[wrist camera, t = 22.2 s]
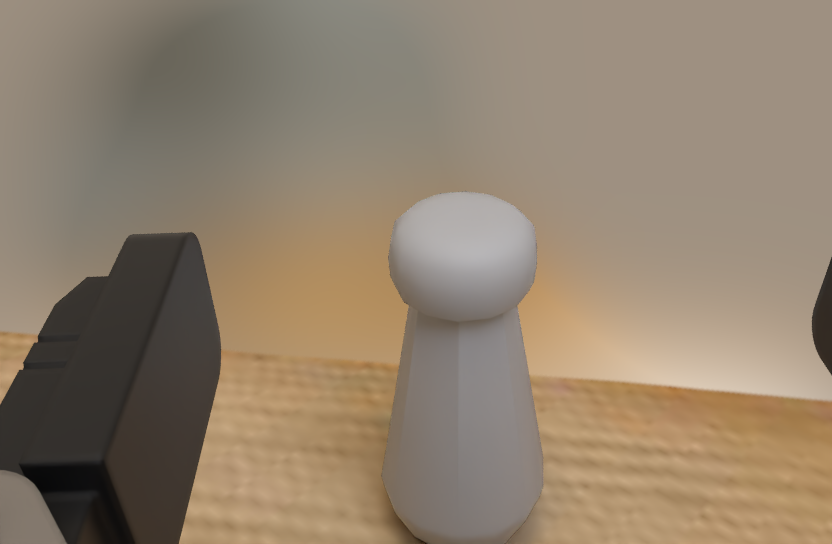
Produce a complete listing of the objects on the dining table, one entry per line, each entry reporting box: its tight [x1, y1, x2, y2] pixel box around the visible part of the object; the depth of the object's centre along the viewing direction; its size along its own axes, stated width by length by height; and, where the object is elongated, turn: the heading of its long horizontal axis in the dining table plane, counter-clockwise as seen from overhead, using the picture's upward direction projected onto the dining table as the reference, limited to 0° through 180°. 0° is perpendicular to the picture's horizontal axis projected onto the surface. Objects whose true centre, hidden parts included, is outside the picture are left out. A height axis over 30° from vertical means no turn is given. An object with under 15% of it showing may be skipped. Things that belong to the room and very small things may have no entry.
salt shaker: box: [381, 192, 543, 544], centre depth 26 cm, size 6×6×13 cm
